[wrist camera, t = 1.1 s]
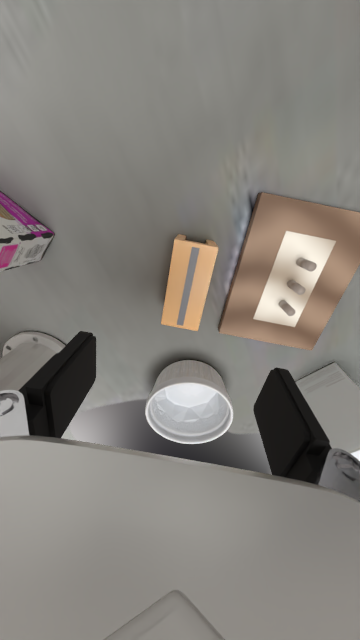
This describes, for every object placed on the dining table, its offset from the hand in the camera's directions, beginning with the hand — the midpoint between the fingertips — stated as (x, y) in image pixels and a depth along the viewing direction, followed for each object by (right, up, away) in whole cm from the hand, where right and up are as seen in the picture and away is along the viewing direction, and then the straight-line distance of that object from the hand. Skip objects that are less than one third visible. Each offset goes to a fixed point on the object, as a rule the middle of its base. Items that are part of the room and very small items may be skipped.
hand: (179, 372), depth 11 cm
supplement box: (+24, -8, +25) cm, 36 cm away
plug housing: (+1, +9, +18) cm, 20 cm away
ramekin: (+2, -8, +27) cm, 28 cm away
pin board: (+14, +8, +18) cm, 24 cm away
